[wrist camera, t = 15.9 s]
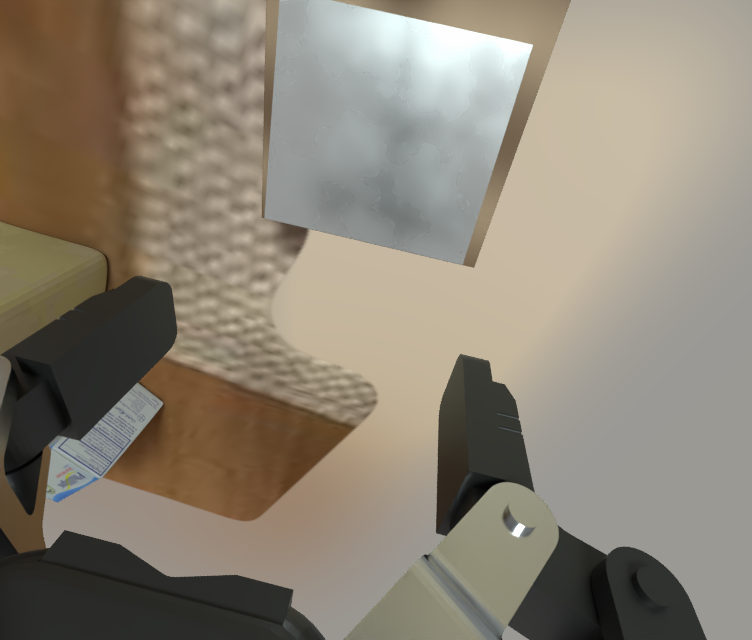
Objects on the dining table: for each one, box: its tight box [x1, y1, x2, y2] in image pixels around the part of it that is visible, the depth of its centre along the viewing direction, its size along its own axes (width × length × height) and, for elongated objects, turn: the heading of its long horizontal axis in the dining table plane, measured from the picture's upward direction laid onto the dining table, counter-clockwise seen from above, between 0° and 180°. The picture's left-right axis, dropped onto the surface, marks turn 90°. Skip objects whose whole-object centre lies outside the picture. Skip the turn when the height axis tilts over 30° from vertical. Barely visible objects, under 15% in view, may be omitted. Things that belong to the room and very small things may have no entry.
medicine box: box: [46, 383, 163, 502], centre depth 35 cm, size 8×4×9 cm, turn 128°
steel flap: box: [264, 0, 533, 265], centre depth 17 cm, size 9×10×1 cm
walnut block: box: [262, 0, 571, 267], centre depth 17 cm, size 20×12×4 cm, turn 169°
